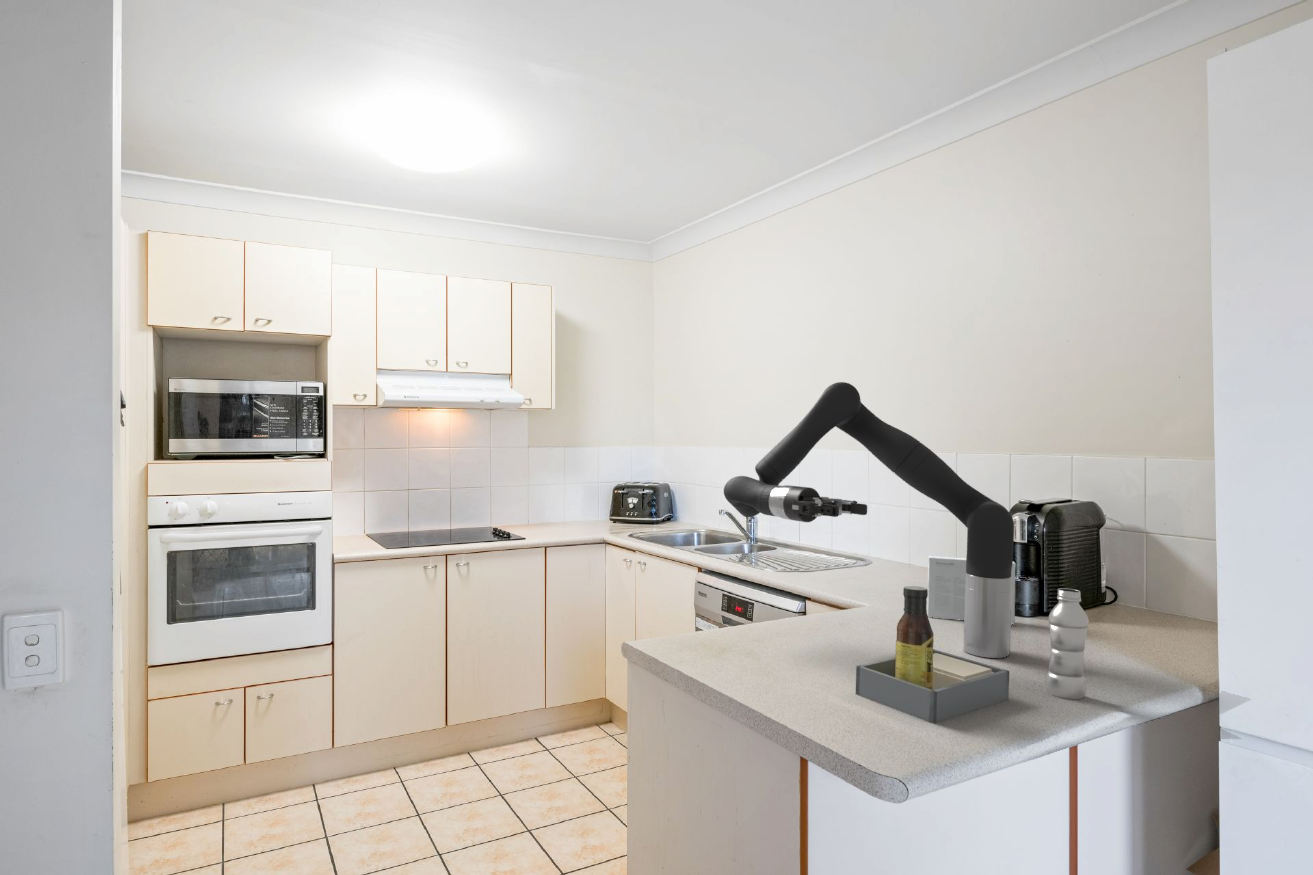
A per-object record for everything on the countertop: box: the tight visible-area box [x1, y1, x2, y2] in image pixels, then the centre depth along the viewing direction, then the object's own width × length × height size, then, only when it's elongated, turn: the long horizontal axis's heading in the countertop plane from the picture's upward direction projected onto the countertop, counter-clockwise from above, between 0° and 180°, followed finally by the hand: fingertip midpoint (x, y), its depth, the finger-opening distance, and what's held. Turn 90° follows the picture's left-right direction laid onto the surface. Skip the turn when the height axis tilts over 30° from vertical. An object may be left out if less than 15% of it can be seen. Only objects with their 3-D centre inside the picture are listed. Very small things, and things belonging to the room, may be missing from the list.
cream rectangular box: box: [932, 653, 994, 690], centre depth 140 cm, size 9×12×5 cm
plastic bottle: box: [1045, 587, 1090, 700], centre depth 140 cm, size 6×7×20 cm
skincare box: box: [927, 555, 1017, 624], centre depth 200 cm, size 21×5×16 cm, turn 71°
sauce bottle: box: [895, 585, 935, 690], centre depth 134 cm, size 7×6×20 cm
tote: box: [855, 648, 1010, 725], centre depth 137 cm, size 22×16×6 cm
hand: (852, 510), depth 155 cm, fingers open, 8 cm apart
